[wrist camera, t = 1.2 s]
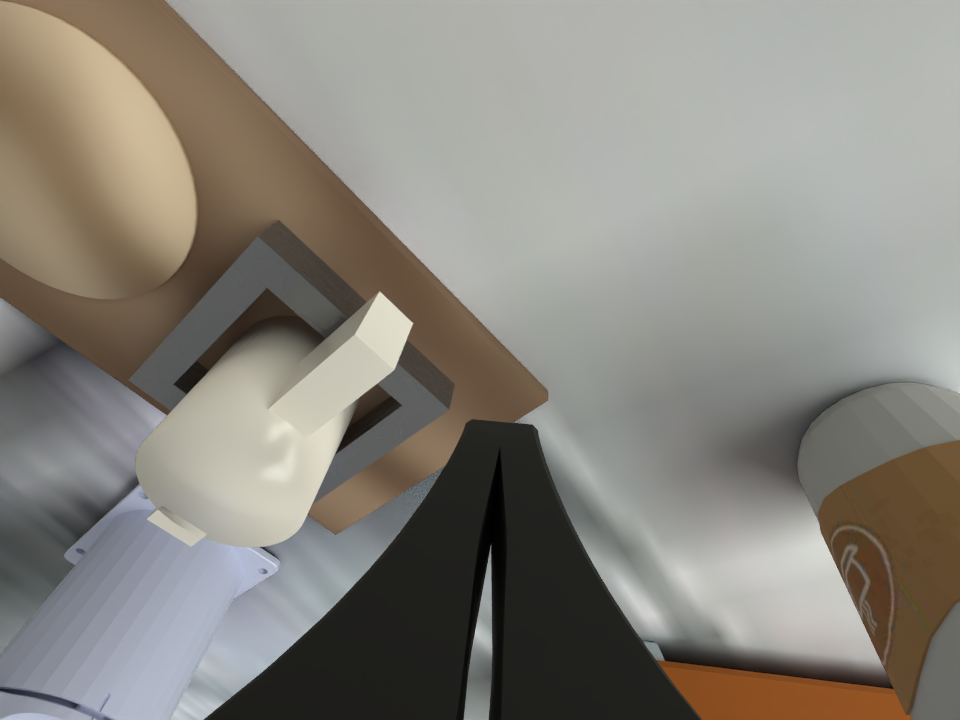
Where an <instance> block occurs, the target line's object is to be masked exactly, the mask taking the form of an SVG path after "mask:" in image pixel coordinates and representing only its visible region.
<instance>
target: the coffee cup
mask: <svg viewBox="0 0 960 720" xmlns="http://www.w3.org/2000/svg"><path fill="white" fill-rule="evenodd" d="M798 455H799V459H798V464H797V468H798V475H799V481H800V483H801V485H802V487H803V489H804V491H805V494H806V496H807V498H808V500H809V502H810V504H811V506H812V508H813V511H814V513H815V515H816V517H817V519H818V521H819V524H820V530H821V533H822V536H823V538H824V540H825V542H826V544H827V546H828V549H829V551H830V553H831V555H832V557H833V559H834V561H835V564H836V566H837V568H838V570H839V572H840V574H841V577H842V579H843V581H844V583H845V585H846V587H847V589H848V592H849V594H850V596H851V598H852V600H853V602H854V605H855V607H856V609H857V611H858V613H859V615H860V617H861V620H862V622H863V624H864V626H865V628H866V630H867V633H868V635H869V637H870V639H871V641H872V643H873V645H874V648H875V650H876V652H877V654H878V656H879V658H880V661H881V663H882V665H883V667H884V669H885V671H886V673H887V676H888V678H889V680H890V682H891V684H892V686H893V689H894V691H895V693H896V695H897V697H898V699H899V701H900V704H901V706H902V708H903V710H904V712H905V714H906V715H910V716H911V718H912V720H960V394H959V393H956V392H954V391H952V390H949V389H945V388H938V387H934V386H931V385H926V384H919V383H912V382H904V383H888V384H883V385H879V386H875V387H871V388H867V389H863V390H861V391H859V392H856V393H854V394H852V395H849V396H847V397H845V398H842V399H841V400H839V401H838V402H836V403H835V404H833V405H832V406H830V407H829V408H827V409H826V410H824V411H823V412H822V413H821V414H820V415H819V416H818V417H817V418H816V419H815V420H814V421H813V422H812V423H811V424H810V426H809V428H808V429H807V431H806V433H805V434H804V436H803V438H802V440H801V444H800V448H799V453H798Z"/></svg>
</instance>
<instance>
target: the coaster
mask: <svg viewBox="0 0 960 720" xmlns="http://www.w3.org/2000/svg"><path fill="white" fill-rule="evenodd" d="M197 224H198V196H197V190H196V185H195V179H194V175H193V172H192V169H191V165H190V162H189V159H188V156H187V154H186V152H185V149H184V147H183V144H182V142H181V140H180V138H179V136H178V134H177V132H176V130H175V128H174V126H173V125H172V123H171V121H170V119H169V118H168V116H167V115H166V113H165V112H164V110H163V109H162V107H161V106H160V104H159V103H158V101H157V99H156V98H155V97H154V96H153V94H152V93H151V92H150V91H149V90H148V88H147V87H146V86H145V85H144V83H143V82H142V81H141V80H140V79H139V78H138V77H137V76H136V74H135V73H134V72H133V71H132V70H131V69H130V68H129V67H128V66H127V65H126V64H125V63H124V62H123V61H122V60H121V59H119V58H118V57H117V56H116V55H115V54H114V53H112V52H111V51H110V50H109V49H108V48H107V47H105V46H104V45H103V44H102V43H100V42H99V41H97V40H96V39H94V38H93V37H92V36H90V35H89V34H87V33H86V32H85V31H83V30H81V29H80V28H78V27H76V26H74V25H72V24H71V23H69V22H67V21H65V20H64V19H62V18H59V17H57V16H55V15H52V14H50V13H48V12H45V11H43V10H41V9H38V8H34V7H31V6H27V5H24V4H20V3H15V2H8V1H1V0H0V258H1V259H2V260H4V261H5V262H7V263H8V264H10V265H11V266H13V267H14V268H16V269H17V270H19V271H21V272H23V273H24V274H26V275H28V276H30V277H31V278H33V279H35V280H37V281H40V282H42V283H44V284H46V285H48V286H50V287H53V288H56V289H59V290H61V291H64V292H67V293H71V294H75V295H79V296H83V297H89V298H96V299H123V298H130V297H134V296H138V295H142V294H144V293H147V292H149V291H151V290H153V289H155V288H157V287H158V286H160V285H161V284H163V283H164V282H166V281H167V280H169V279H170V278H171V277H172V276H173V275H174V274H175V273H176V272H177V271H178V270H179V269H180V268H181V266H182V265H183V264H184V262H185V261H186V259H187V258H188V255H189V253H190V251H191V249H192V247H193V244H194V240H195V236H196V232H197Z"/></svg>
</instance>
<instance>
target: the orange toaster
mask: <svg viewBox="0 0 960 720" xmlns="http://www.w3.org/2000/svg"><path fill="white" fill-rule="evenodd" d="M643 643H644V644H645V645H646V647H647V648H648V650H649V651H650V652H651V654H652V655H653V656H654V658H655V659H656V660H657V662H658V663H659V665H660V666H661V667H662V669H663V670H664V671H665V673H666V674H667V675H668V677H669V678H670V679H671V681H672V682H673V684H674V685H675V686H676V688H677V689H678V690H679V691H680V693H681V694H682V695H683V696H684V698H685V699H686V700H687V701H688V703H689V704H690V705H691V706H692V708H693V709H694V710H695V711H696V713H697V714H698V715H699V716H700V717H701V719H702V720H912V718H911V716H910V715H906V714H905V712H904V710H903V708H902V706H901V704H900V701H899V699H898V697H897V695H896V693H895V691H894V689H889V688H881V687H873V686H865V685H856V684H848V683H840V682H832V681H824V680H816V679H808V678H799V677H791V676H783V675H775V674H767V673H759V672H750V671H742V670H734V669H726V668H718V667H710V666H702V665H693V664H685V663H677V662H669V661H665V660H664V657H663V655H662V653H661V651H660V649H659V646H658V644H657V643H656V642H649V641H643Z"/></svg>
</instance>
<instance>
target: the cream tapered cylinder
mask: <svg viewBox="0 0 960 720" xmlns="http://www.w3.org/2000/svg"><path fill="white" fill-rule="evenodd" d="M412 325H413V323H412V322H411V321H410V320H409V319H408V318H407V317H406V316H405V315H404V314H403V313H402V312H401V311H400V310H399V309H398V308H397V307H396V306H395V305H393V304H392V303H391V302H390V301H389V300H388V299H387V298H386V297H385V296H384V295H383V294H382V293H381V292H380V291H379V292H378V293H377V294H376V295H375V296H374V297H372V298H371V299H370V300H369V301H368V302H367V303H366V304H365V305H363V306H362V307H361V308H360V309H359V310H358V311H357V312H356V313H354V314H353V315H352V316H351V317H350V318H349V319H348V320H347V321H345V322H344V323H343V324H342V325H341V326H340V327H339V328H338V329H336V330H335V331H334V332H333V333H332V334H331V335H330V336H329V337H327V338H326V339H325V338H324V337H323V336H322V335H321V334H320V333H318V332H317V331H316V330H315V329H314V328H313V327H312V326H310V325H309V324H308V323H307V322H306V321H305V320H303V319H302V318H301V317H298V316H288V315H282V316H273V317H269V318H266V319H263V320H261V321H259V322H257V323H255V324H253V325H252V326H251V327H250V328H249V329H248V330H247V331H246V332H245V333H244V334H243V335H242V336H241V337H240V338H239V339H238V340H237V341H236V342H235V343H234V345H233V346H232V347H231V348H230V349H229V350H228V351H227V352H226V353H225V354H224V355H223V356H222V357H221V359H220V360H219V361H218V362H217V363H216V364H215V365H214V366H213V367H212V368H211V369H210V370H209V371H208V372H207V374H206V375H205V376H204V377H203V378H202V379H201V380H200V381H199V382H198V383H197V384H196V385H195V386H194V387H193V389H192V390H191V391H190V392H189V393H188V394H187V395H186V396H185V397H184V398H183V399H182V400H181V401H180V402H179V404H178V405H177V406H176V407H175V408H174V409H173V410H172V411H171V412H170V413H169V414H168V415H167V416H166V417H165V419H164V420H163V421H162V422H161V423H160V424H159V425H158V426H157V427H156V428H155V429H154V430H153V431H152V432H151V434H150V435H149V436H148V437H147V438H146V439H145V440H144V441H143V443H142V444H141V445H140V447H139V449H138V451H137V455H136V458H135V469H136V475H137V478H138V481H139V483H140V485H141V487H142V489H143V491H144V493H145V494H146V496H147V497H148V499H149V500H150V501H151V502H152V503H153V505H154V506H155V507H156V508H155V509H154V510H153V512H152V513H151V514H150V515H149V517H148V518H147V520H149V521H150V522H152V523H153V524H155V525H157V526H158V527H160V528H161V529H163V530H165V531H166V532H168V533H170V534H171V535H173V536H174V537H176V538H178V539H179V540H181V541H182V542H184V543H186V544H187V545H189V546H190V547H191V546H193V545H194V544H195V543H197V542H198V541H199V540H201V539H202V538H205V539H207V540H211V541H214V542H217V543H221V544H225V545H230V546H237V547H264V546H270V545H274V544H277V543H280V542H282V541H285V540H286V539H288V538H290V537H291V536H293V535H294V534H295V533H296V532H297V531H298V530H299V529H300V528H301V526H302V524H303V522H304V521H305V518H306V516H307V514H308V512H309V510H310V508H311V505H312V503H313V501H314V499H315V497H316V495H317V492H318V490H319V488H320V486H321V484H322V482H323V479H324V477H325V475H326V473H327V471H328V468H329V466H330V464H331V462H332V460H333V458H334V455H335V453H336V451H337V449H338V447H339V445H340V442H341V440H342V438H343V436H344V434H345V432H346V429H347V427H348V425H349V423H350V421H351V419H352V416H353V414H354V412H355V410H356V408H357V406H358V403H359V401H360V399H361V397H362V395H363V394H364V393H366V392H367V391H368V390H369V389H371V388H372V387H373V386H375V385H376V384H377V383H378V382H380V381H381V380H382V379H384V378H385V377H386V376H387V375H389V374H390V373H391V372H392V371H394V370H395V367H396V365H397V362H398V360H399V357H400V355H401V352H402V350H403V347H404V345H405V342H406V340H407V337H408V335H409V332H410V330H411V327H412Z"/></svg>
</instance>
